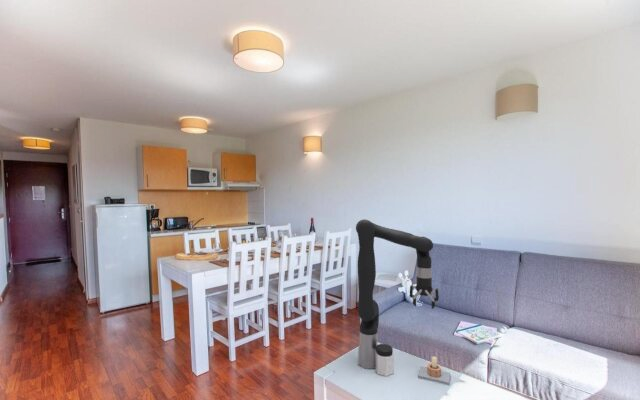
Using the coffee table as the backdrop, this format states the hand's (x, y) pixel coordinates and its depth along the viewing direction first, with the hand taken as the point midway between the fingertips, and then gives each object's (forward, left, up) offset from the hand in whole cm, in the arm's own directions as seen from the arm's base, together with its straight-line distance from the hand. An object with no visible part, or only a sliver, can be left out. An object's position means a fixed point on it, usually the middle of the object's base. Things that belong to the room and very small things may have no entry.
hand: (423, 306), depth 162 cm
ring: (+6, -9, -29) cm, 31 cm away
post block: (+6, -9, -30) cm, 32 cm away
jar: (-17, -15, -30) cm, 38 cm away
